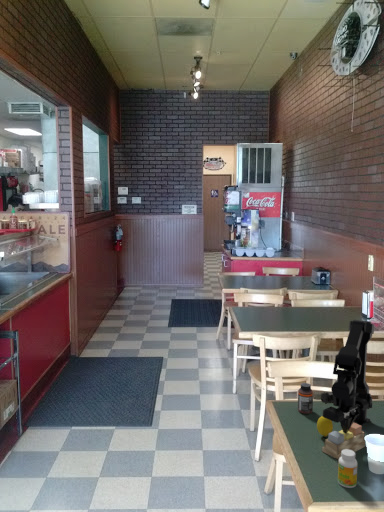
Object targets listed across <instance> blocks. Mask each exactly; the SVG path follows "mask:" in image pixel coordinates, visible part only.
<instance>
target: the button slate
mask: <svg viewBox="0 0 384 512" xmlns="http://www.w3.org/2000/svg"><path fill="white" fill-rule="evenodd" d="M327 439H328V441H330V442H332V443H334V444H336V445H339V444H341V443H343V442H344V434H341V433H339V431H336V430H332V432H331V433H329V434H328V438H327Z"/></svg>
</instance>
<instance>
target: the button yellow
mask: <svg viewBox="0 0 384 512" xmlns="http://www.w3.org/2000/svg"><path fill="white" fill-rule="evenodd" d="M338 432H339V433H341V434H344V439H345V440H348V439H350V438H352V437H353V433H352V432H349V431H348V432H347V433H344V432H343V430H342V429H341V430H339V431H338Z"/></svg>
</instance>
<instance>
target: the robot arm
mask: <svg viewBox="0 0 384 512" xmlns="http://www.w3.org/2000/svg"><path fill="white" fill-rule="evenodd" d="M348 331H349V332H348V336H347V339H346V343H345V345H344V346H342V347H340V348H339V350H338V353H337V354H336V355H335V359H334V365H333V370H332V371H333V372H332V375H336V377H337V378H336V380H335V382H334V383H333V384H332V385H331V389H330V390H331V391H329V392H327V391H326V392H321V393H320V400H321V401H320V402H322V403H323V404H325V405H328V404H333V405H332V406H329V407H327V408H325V409H323V410H322V416H323V417H324V418H327V419H329V420H331V421H332V422H333V423H340V427H341V430H343V432H344V433H347V432H348V431H349V429H350V427H351V426H352V424H353V423H356V424H358V425H361V426H363V425H364V424H366V423H369V422H370V421H371V419H370V418H368V410H370V409H373V406H374V405H373V397H372V394H371V392H370V386H369V385H368V383H367V381H366V376H367V375H366V374H367V373H366V372H367V358H368V357H367V355H368V343H369V341H370V340H371V339H372V338H373V334H374V333H375V324H373V323H372V321H370V320H369V321H367V320H359V319H353V320H349V324H348ZM336 407H337V408H336Z"/></svg>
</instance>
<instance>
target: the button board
mask: <svg viewBox="0 0 384 512" xmlns="http://www.w3.org/2000/svg"><path fill="white" fill-rule="evenodd" d="M365 435H366V433H365V432H364V431H363V430H362V431H361V433H360V434H358V435H356V436H355V435H353V437H352V438H350V439H348V440H345V439H344V442H343V443H341V444H339V445H336V444H334V443H332V442H330V441H328V438H326V439H324V446H322V447H321V449H322V450H321V452H322V453H324V454H326V455H329V456H330V457H332V458H334V459H337V460H338V461H339V458H340V457H341V451H342V450H344V449H349V450H352V451H354V452H355V453H356V452H358V451H360V450H361V449H363V448H365V447H366V446H365V441H366V440H364V437H366V436H365Z"/></svg>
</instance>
